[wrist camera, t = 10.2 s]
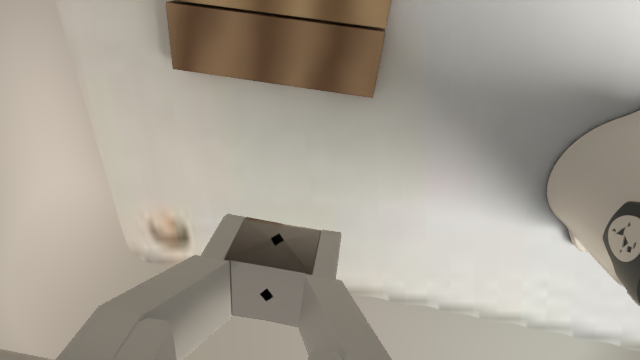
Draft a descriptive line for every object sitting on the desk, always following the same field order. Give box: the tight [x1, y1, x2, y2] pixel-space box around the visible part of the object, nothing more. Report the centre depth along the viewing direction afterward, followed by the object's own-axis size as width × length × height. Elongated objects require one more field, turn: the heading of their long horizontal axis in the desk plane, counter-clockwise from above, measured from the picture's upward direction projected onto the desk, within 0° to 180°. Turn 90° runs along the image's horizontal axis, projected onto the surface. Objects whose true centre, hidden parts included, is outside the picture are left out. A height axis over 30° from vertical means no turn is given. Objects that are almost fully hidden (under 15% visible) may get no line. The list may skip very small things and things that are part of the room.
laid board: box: [166, 1, 385, 98], centre depth 35 cm, size 20×6×2 cm, turn 84°
